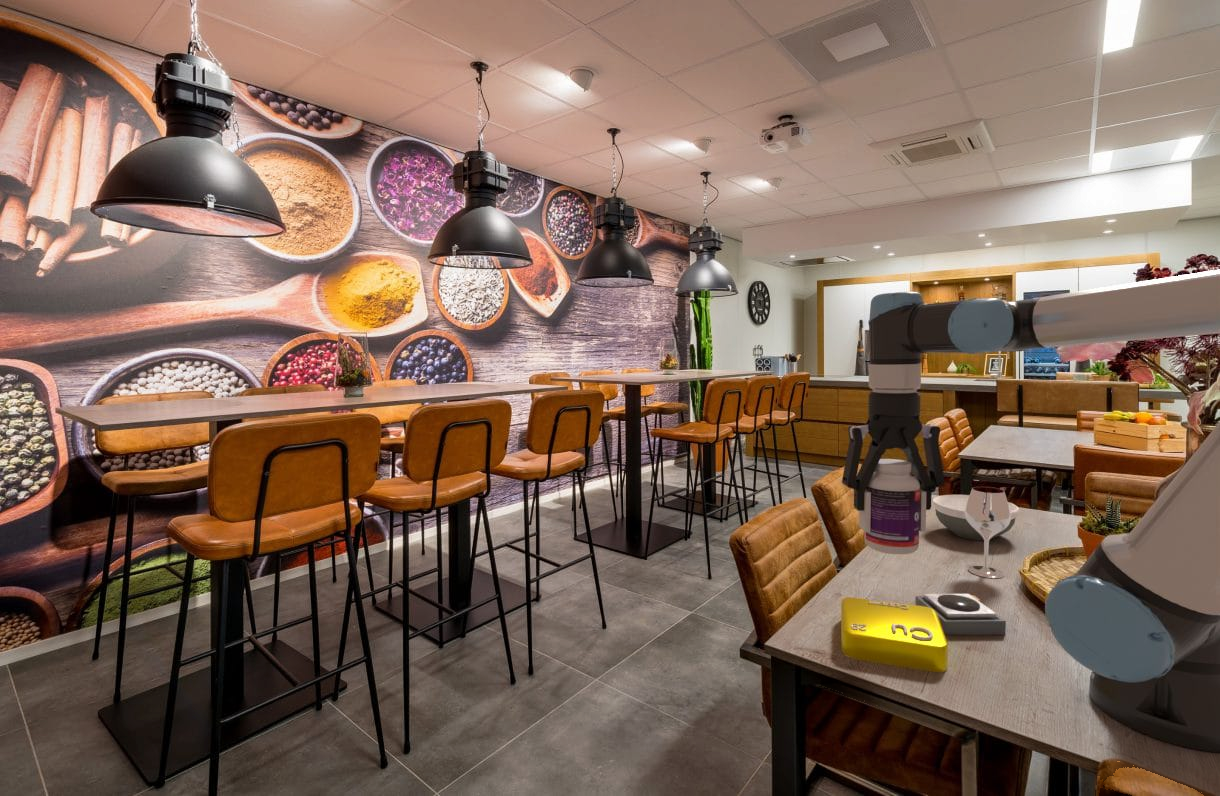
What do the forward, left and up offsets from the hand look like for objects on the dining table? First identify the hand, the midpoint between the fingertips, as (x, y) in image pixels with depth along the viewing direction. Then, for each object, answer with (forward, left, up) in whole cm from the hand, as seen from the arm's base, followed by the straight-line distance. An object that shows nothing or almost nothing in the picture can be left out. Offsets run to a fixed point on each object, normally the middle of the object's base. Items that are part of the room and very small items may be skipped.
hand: (891, 529), depth 94 cm
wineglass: (+29, -33, -19) cm, 48 cm away
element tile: (0, 0, -20) cm, 20 cm away
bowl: (+54, -45, -19) cm, 73 cm away
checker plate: (+7, -15, -18) cm, 24 cm away
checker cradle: (+7, -15, -19) cm, 25 cm away
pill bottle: (0, 0, -3) cm, 3 cm away
